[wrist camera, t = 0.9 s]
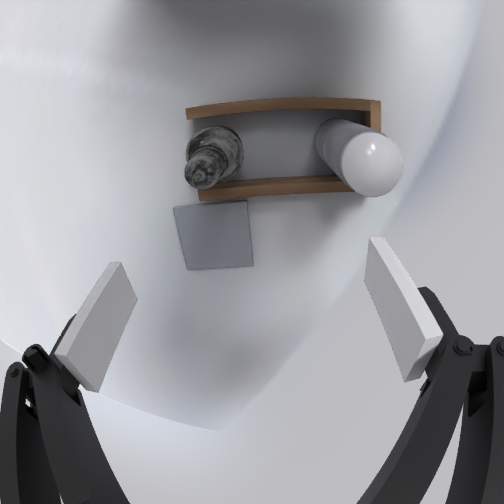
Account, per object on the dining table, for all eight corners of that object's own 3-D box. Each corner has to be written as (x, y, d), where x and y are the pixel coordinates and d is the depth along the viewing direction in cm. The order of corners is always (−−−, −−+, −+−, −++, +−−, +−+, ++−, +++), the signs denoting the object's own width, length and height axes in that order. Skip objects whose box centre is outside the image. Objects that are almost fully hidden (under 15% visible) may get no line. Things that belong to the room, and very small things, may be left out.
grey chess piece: (248, 169, 31) (243, 210, 21) (198, 176, 32) (169, 220, 21) (241, 119, 28) (231, 133, 18) (188, 128, 28) (151, 148, 18)
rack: (190, 107, 27) (185, 108, 25) (371, 100, 26) (380, 101, 24) (203, 193, 33) (199, 201, 30) (370, 184, 31) (377, 191, 29)
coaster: (174, 207, 34) (172, 208, 33) (246, 200, 33) (246, 201, 32) (188, 267, 38) (187, 269, 38) (253, 263, 38) (253, 266, 37)
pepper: (313, 118, 28) (341, 130, 18) (361, 119, 27) (407, 133, 18) (315, 166, 31) (340, 200, 21) (360, 165, 30) (402, 199, 21)
